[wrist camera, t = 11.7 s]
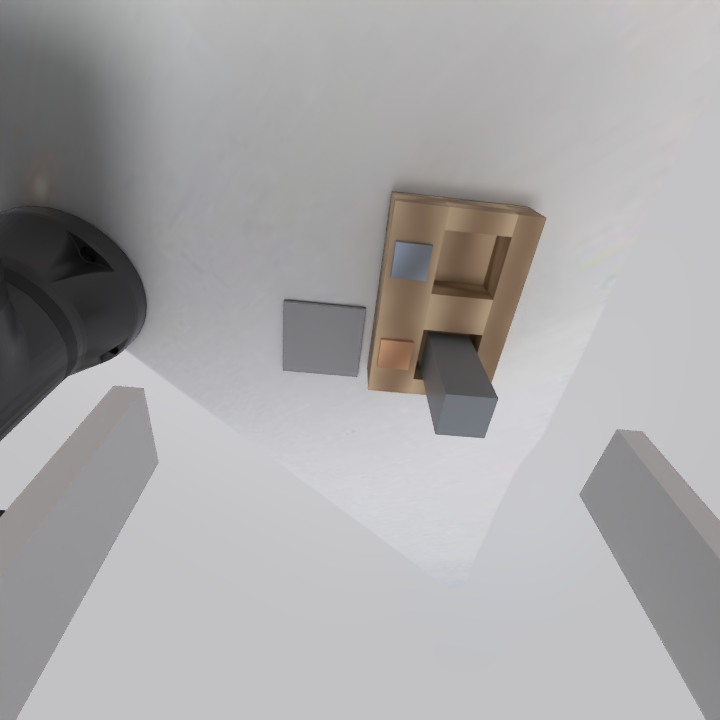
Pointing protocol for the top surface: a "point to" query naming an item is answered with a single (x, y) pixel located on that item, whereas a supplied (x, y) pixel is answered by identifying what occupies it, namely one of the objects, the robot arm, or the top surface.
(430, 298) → the socket board
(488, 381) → the plug
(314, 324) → the mat
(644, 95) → the top surface
